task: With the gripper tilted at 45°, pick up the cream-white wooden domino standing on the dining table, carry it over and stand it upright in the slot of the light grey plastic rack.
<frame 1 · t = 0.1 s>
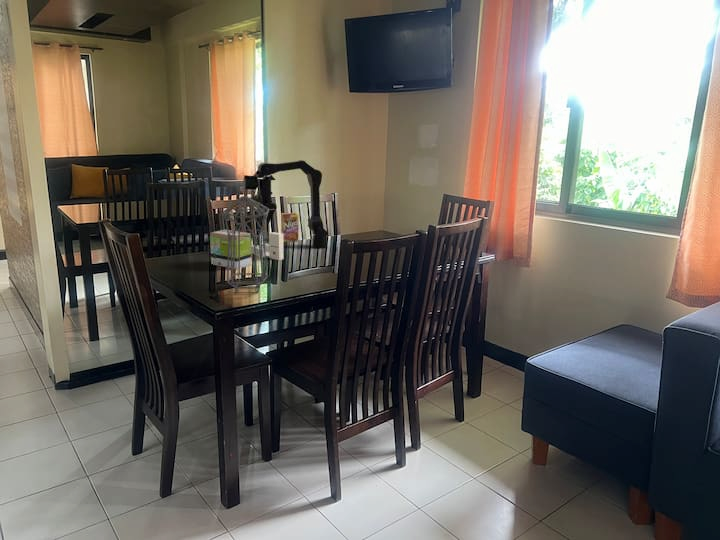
hand: (265, 221, 258), 15 cm above the table, tool pointing down, fingers open, 9 cm apart
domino: (276, 258, 246), on the table
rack: (263, 253, 255), on the table
tea box: (231, 265, 231), on the table
candy box: (289, 241, 286), on the table
geometric lantern: (247, 291, 195), on the table
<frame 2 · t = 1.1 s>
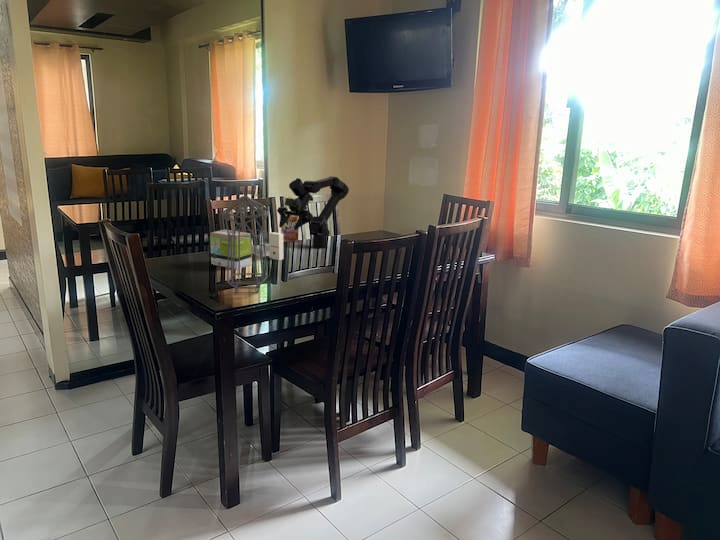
hand: (287, 228, 249), 13 cm above the table, tool tilted 45°, fingers open, 9 cm apart
nothing on the table moved.
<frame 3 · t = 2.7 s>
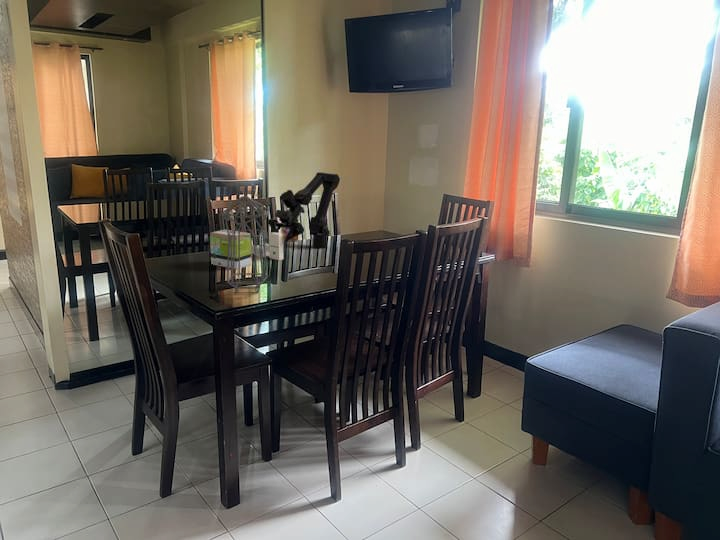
hand: (277, 240, 244), 9 cm above the table, tool tilted 45°, fingers open, 9 cm apart
nothing on the table moved.
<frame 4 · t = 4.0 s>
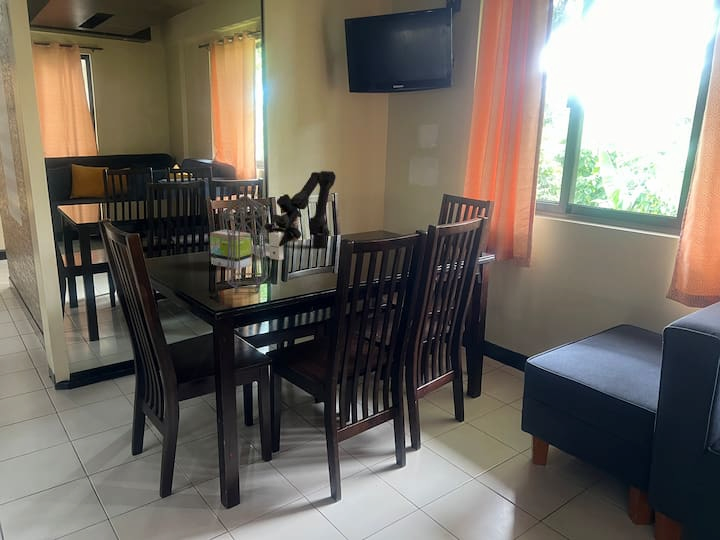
hand: (274, 245, 243), 7 cm above the table, tool tilted 45°, fingers closed on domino, 6 cm apart
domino: (276, 258, 246), on the table, touching gripper
everything else where it was.
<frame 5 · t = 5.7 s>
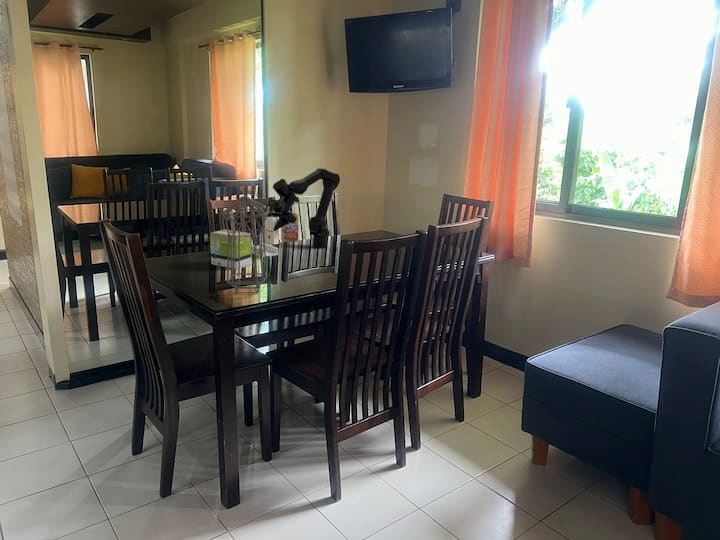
hand: (269, 229, 243), 13 cm above the table, tool tilted 45°, fingers closed on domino, 6 cm apart
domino: (271, 243, 246), point 7 cm above the table, touching gripper
everything else where it was.
when the fingers open (9 cm above the table, at t = 7.8 s): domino drops 1 cm, resting on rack.
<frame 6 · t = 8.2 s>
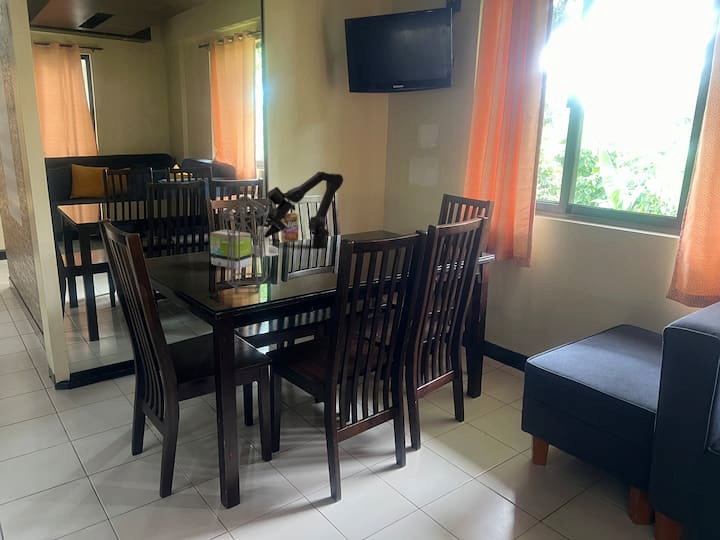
hand: (260, 235, 252), 9 cm above the table, tool tilted 45°, fingers open, 9 cm apart
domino: (263, 251, 255), point 1 cm above the table, touching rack
everything else where it was.
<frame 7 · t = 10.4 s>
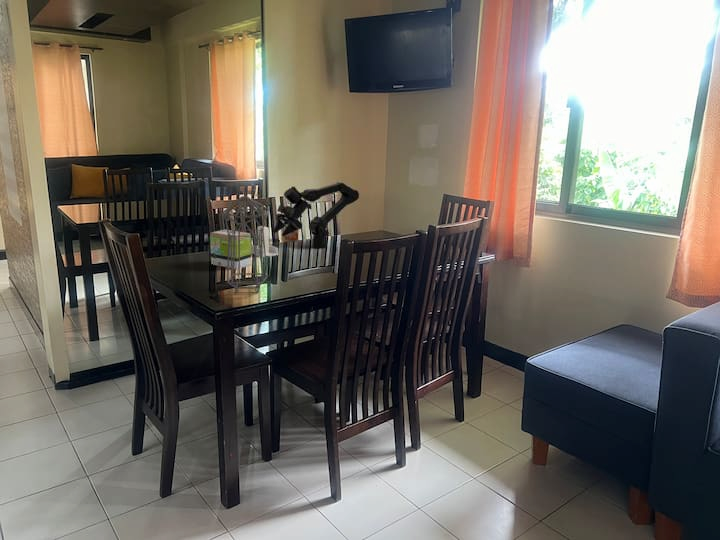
hand: (278, 234, 257), 9 cm above the table, tool tilted 45°, fingers open, 9 cm apart
nothing on the table moved.
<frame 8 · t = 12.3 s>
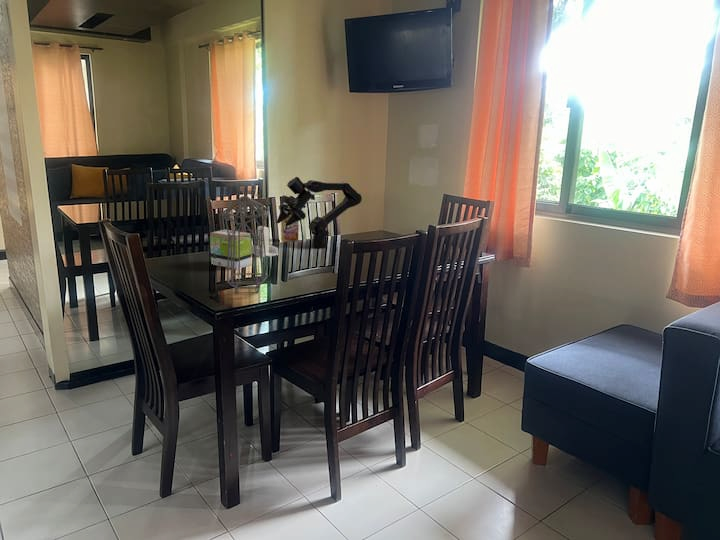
hand: (281, 224, 257), 14 cm above the table, tool tilted 45°, fingers open, 9 cm apart
nothing on the table moved.
at the end: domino 0.0 cm off-centre on the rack, point 1.0 cm above the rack's base; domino tilted 0°; the gripper is holding nothing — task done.
